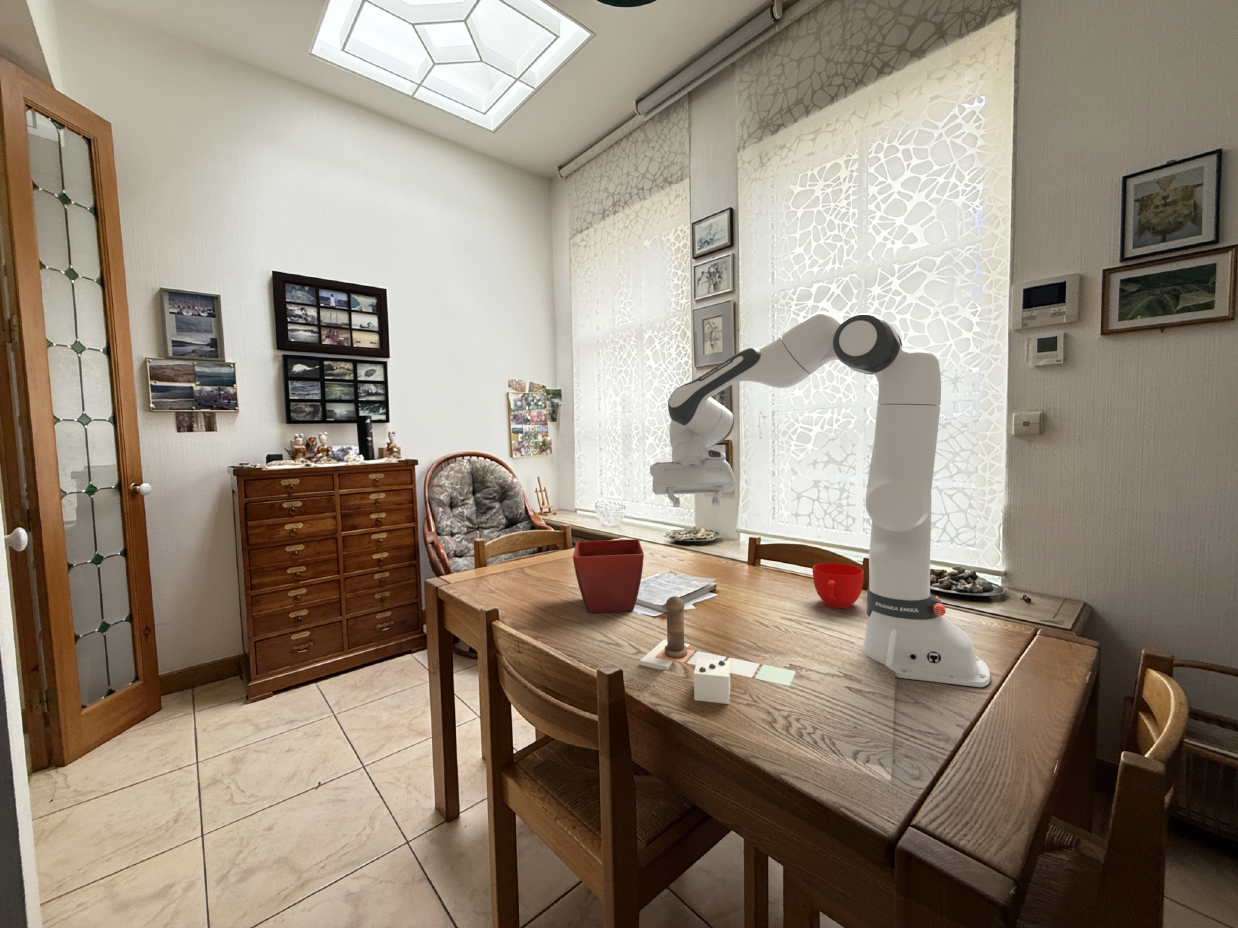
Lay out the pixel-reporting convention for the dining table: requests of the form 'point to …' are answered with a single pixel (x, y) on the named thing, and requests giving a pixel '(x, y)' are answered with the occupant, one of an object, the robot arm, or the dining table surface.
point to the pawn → (675, 628)
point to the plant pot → (609, 574)
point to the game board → (738, 667)
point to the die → (712, 681)
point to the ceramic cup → (838, 583)
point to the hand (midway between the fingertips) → (696, 505)
